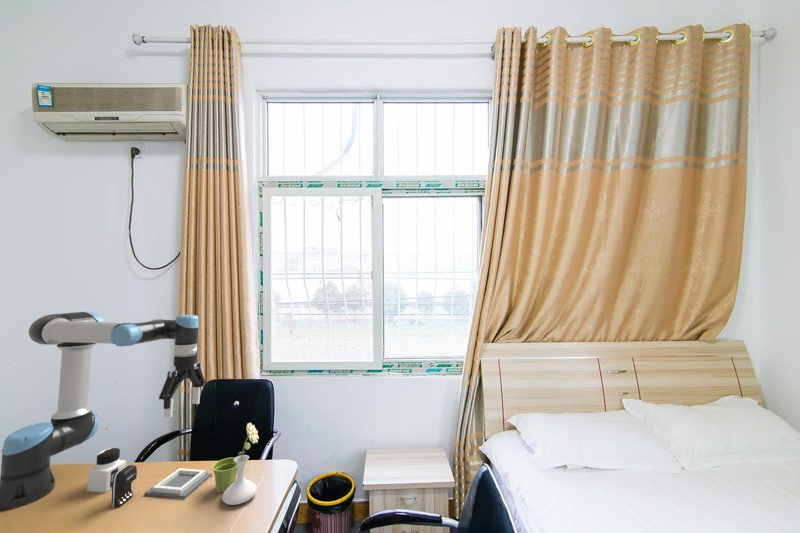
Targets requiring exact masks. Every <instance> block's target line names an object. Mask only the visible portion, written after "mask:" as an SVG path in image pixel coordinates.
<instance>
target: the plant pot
mask: <svg viewBox="0 0 800 533" xmlns="http://www.w3.org/2000/svg"><path fill="white" fill-rule="evenodd" d="M235 458H236V457H227V458H223V459H220V460H218V461H216V462H214V464H213V465H212V466H211V467H212V468H211V469H212V471H213V473H214V474H213V475H214V478H215V479H214V481H215V490H216V492H218V493H224V491H225V490H226V489H227V488H228V487H229V486H230V485H231V484H233V483H234V482H235V481H236V479H237V465H236V463H235V462H234V459H235Z"/></svg>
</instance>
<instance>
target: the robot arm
mask: <svg viewBox="0 0 800 533" xmlns="http://www.w3.org/2000/svg"><path fill="white" fill-rule="evenodd" d="M199 327H200V325H199V316H198V315H196V314H181V315H177V316H176V318H175V319H163V318H157V319H151V320H149V321H144V322H108V321H107V322H106V321H105V319H104V317H103V316H101V315H100V314H99V313H97V312H94V311H79V312H78V311H76V312H66V313H53V314H47V315H44V316H41V317H39V318H37V319H36V320H35V321H33V322H32V323H31V324H30V326H29V328H28V335H29V338H30V340H32V341H33V342H34V343H37V344H40V345H43V346H44V345H46V346H48V345H56V348H57V349H59V350H60V351H61V355H60V356H61V359H60V360H61V361H60V370H59V371H60V372H59V385H58V386H59V387H58V398H57V410H56V412H55V413H53V414H52V415H51V416H50V422H38V423H35V424H33V425H32V424H30V425H27V426H24V427H22V428H19V429H17V430H15V431H13V432H11V433H10V434H9V435H8V436H7V437H5V439H4V441H3V445H2V449H1V453H2V455H1V467H0V511H5V510H11V509H15V508H19V507H22V506H25V505H28V504H30V503H34V502H36V501H38V500H39V499H42V498H44V497H45V496H47V495H49V494H50V493H51V492H52V491H53V490H54V489H55V485H56V479H55V477H54V474H53V473H52V470H51V467H50V465H51V457H53V456H55V455H57V454H60V453H62V452H64V451H67V450H69V449H71V448H73V447H76V446H79V445H81V444H83V443H84V442H86V441H88V440H90V439H91V438H92V437H93V436H94V435H95V434H96V433H97V431H98V428H99V427H100V426H99V424H100V421H99V419H100V418H99V417H98V416H97V415H98V414H97V413H96V412H94V411H93V409H92V407H90V406H89V405H88V402H89V400H88V399H89V389H90V388H89V386H90V376H91V375H90V372H91V358H92V348H93V347H94V346H96V345H97V344H112V345H115V346H117V347H131V346H134V345H139V344H143V343H149V342H153V341H154V342H155V341H159V340H174V348H173V354H174V357H173V366H174V367H175V369H174V370H169V371H167V376H166V379H165V382H164V384H163V387H162V388H161V389H162V390H161V391H160V394H159V396H158V400H163V409H164V410H163V411H164V412H163V418H172V417H173V412H174V411H173V410H174V398H173V397H174V395H175V393H176V391H177V390H178V388H179V386H180V384H181V383H182V382H183V381H184V380H187V379H188V380H189V381H190V382H191V383H192V385H193V386H194V387H192V394H191V395H192V399H191V404H192V405H199V404H200V399H201V398H200V397H201V391H202V389H201V388H202V387H204V384H206V380H205V378H204V374H203V372H202V368H201V363H198V362H197V361H198V360H197V358H198V354H197V352H198V335H199Z"/></svg>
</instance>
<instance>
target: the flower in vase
mask: <svg viewBox="0 0 800 533" xmlns="http://www.w3.org/2000/svg"><path fill="white" fill-rule="evenodd" d="M246 433H247V434H246V435H247V437H246V439H245V441H244V444H243V448H242V451H239V452H238V456H236V457H234V458H235V459H234V462H235V463H236V465H237V474H236V480H235V482H234V483H233V484H231V485H230V486H229V487H228V488H227V489H226V490H225V491H224V492H222V493H223V494H222V496H221V500H222V501H223V503H224V504H226V505H230V506H234V505H240V504H243V503H246V502H248V501H249V500H251V499H253V498H254V497H255V495H256V493H257V491H258V487H257V485H256V483H255V482H253V481H251V480H249V479H247V478H246V477H245V469H246V468H245V467H246V464H247V462H248V461H249V459H250V456H249V455H247V454H245V450H247V451H248V450H249V449H250V448H251V443H252V444H253V445H254V444H258V442H259V441H258V440H259V439H260V438H259V435H258V433H259V431H258V430H257V428H256V427H255V424H252V422H248V423H247V425H246ZM248 439H249V441H250V442H251V443H250V442H247V441H248Z"/></svg>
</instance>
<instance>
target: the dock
mask: <svg viewBox="0 0 800 533" xmlns="http://www.w3.org/2000/svg"><path fill="white" fill-rule="evenodd" d="M209 477H210V478H212V477H213V473H210V472H206V470H204V469H194V468H181V467H179V468H178V469H175V470H174V471H173V472H172V473H170V474H169V475H167V476H166V477H164V478H162V479H161V480H160V481H159V482H157V483H156V484H154V485H153V486H152V487H149V489H148V490H146V491H144V496H147V497H160V498H168V499H169V498H170V499H179V500H181V499H182V500H185V499H187V498H188V497H189V496H191V494H192V493H193V492H195V491H197V489H199V488H200V487H201V486H202V485H203V484H204V483H206V482H207V481H208V480H209V479H210V478H209ZM208 478H209V479H208ZM207 479H208V480H207ZM206 480H207V481H206ZM205 481H206V482H205ZM203 482H204V483H203ZM202 483H203V484H202ZM201 484H202V485H201ZM200 485H201V486H200ZM199 486H200V487H199Z"/></svg>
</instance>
